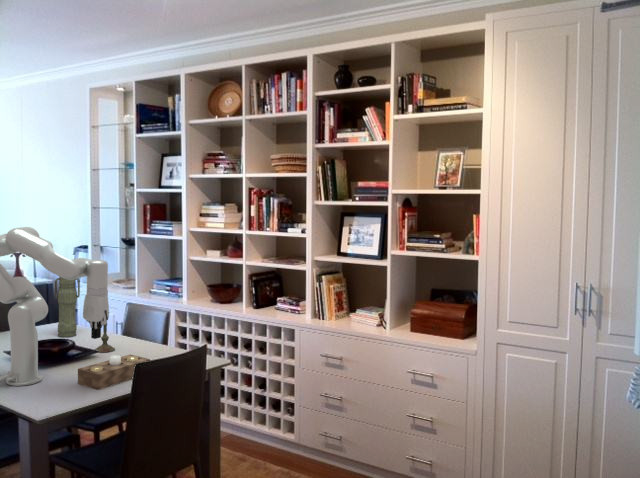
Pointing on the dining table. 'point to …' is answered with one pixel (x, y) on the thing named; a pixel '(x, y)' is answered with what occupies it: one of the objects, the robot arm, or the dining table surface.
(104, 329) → the candlestick holder
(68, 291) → the thermos
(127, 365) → the wooden block
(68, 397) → the dining table surface
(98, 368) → the near brass knob
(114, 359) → the middle white knob
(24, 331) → the robot arm
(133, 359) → the far brass knob
